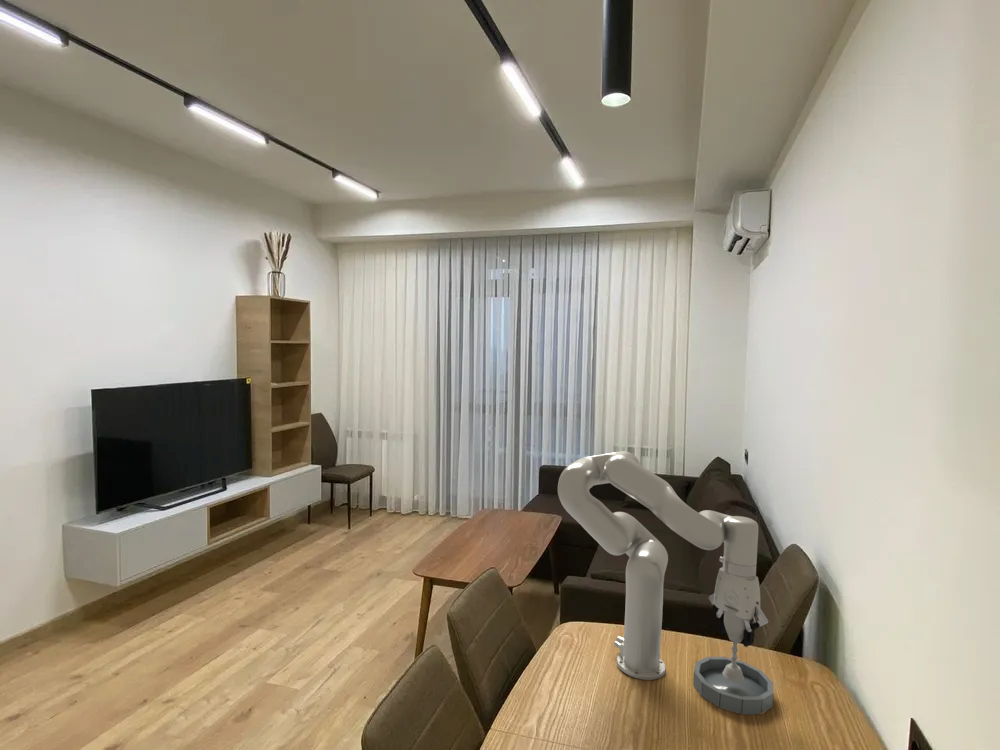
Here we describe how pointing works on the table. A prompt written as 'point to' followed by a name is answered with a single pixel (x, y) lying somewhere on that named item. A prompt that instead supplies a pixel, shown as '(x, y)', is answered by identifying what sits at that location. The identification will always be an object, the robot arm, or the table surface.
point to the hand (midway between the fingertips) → (735, 638)
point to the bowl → (733, 686)
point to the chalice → (736, 635)
